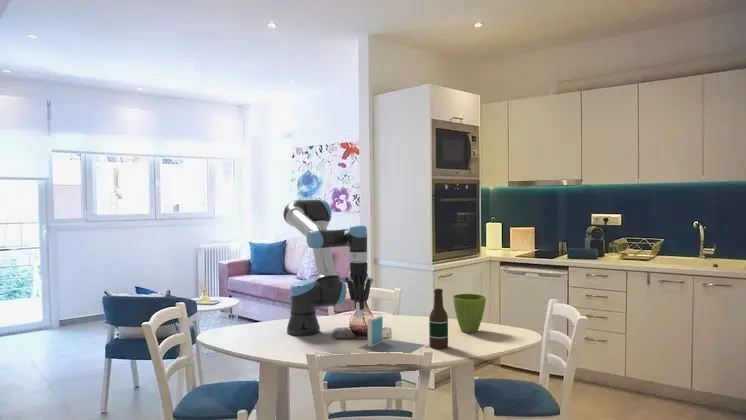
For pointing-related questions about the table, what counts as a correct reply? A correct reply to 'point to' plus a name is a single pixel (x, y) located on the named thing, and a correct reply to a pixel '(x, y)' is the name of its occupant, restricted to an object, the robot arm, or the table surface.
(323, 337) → the table surface
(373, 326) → the tile
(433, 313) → the beer bottle
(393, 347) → the mat
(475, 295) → the flower pot
